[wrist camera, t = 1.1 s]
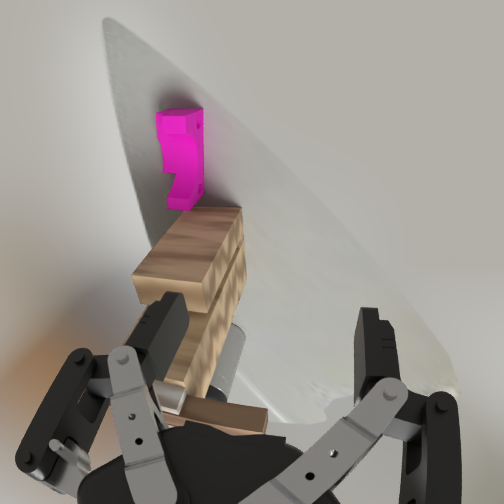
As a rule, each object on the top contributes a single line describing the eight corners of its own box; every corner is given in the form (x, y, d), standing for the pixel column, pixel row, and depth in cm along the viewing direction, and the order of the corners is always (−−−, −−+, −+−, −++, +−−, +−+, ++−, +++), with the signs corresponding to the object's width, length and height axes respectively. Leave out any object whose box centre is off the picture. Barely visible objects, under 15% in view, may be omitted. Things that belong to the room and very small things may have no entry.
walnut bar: (267, 420, 34) (263, 443, 32) (102, 381, 39) (92, 398, 36) (267, 408, 32) (262, 432, 30) (93, 368, 37) (82, 386, 34)
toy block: (168, 108, 47) (146, 116, 41) (203, 108, 46) (185, 116, 40) (172, 189, 56) (154, 207, 49) (204, 192, 55) (189, 211, 48)
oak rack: (246, 279, 63) (190, 437, 35) (199, 274, 65) (125, 417, 37) (241, 207, 55) (157, 370, 27) (188, 206, 56) (77, 347, 28)
